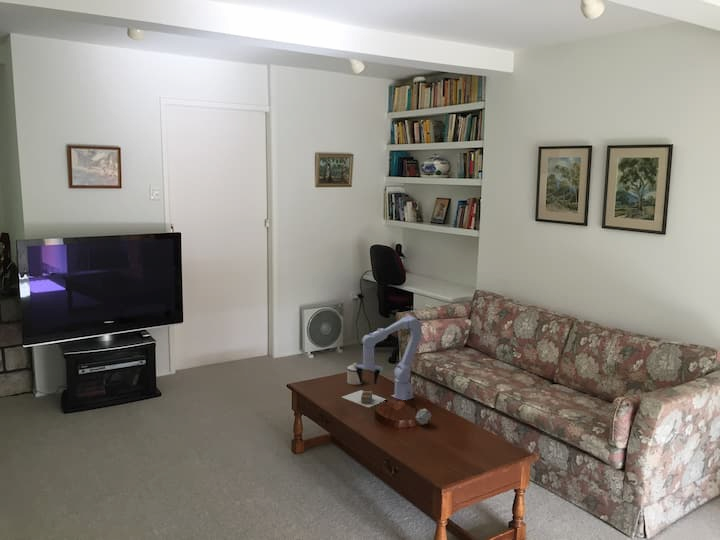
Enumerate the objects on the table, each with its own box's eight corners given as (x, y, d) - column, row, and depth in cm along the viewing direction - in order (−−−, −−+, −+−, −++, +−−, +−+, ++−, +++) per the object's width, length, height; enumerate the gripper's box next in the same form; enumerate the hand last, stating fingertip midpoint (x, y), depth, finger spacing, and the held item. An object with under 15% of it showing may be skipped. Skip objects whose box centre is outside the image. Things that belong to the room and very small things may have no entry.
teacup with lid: (365, 384, 351) (365, 364, 349) (351, 386, 347) (351, 366, 345) (356, 377, 362) (356, 358, 360) (341, 380, 358) (342, 360, 356)
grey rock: (419, 432, 297) (407, 416, 295) (425, 420, 303) (413, 405, 302) (433, 428, 291) (421, 412, 289) (439, 416, 297) (427, 400, 296)
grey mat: (388, 400, 326) (388, 399, 326) (368, 408, 316) (368, 407, 316) (360, 391, 340) (360, 389, 340) (341, 398, 330) (341, 396, 329)
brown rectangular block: (370, 403, 320) (370, 396, 319) (361, 403, 321) (361, 396, 320) (372, 398, 328) (372, 391, 327) (362, 397, 328) (362, 391, 328)
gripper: (383, 356, 326) (383, 381, 328) (357, 354, 329) (356, 379, 332) (380, 360, 319) (380, 386, 321) (353, 358, 323) (353, 383, 325)
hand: (368, 382), depth 326 cm, fingers open, 7 cm apart
